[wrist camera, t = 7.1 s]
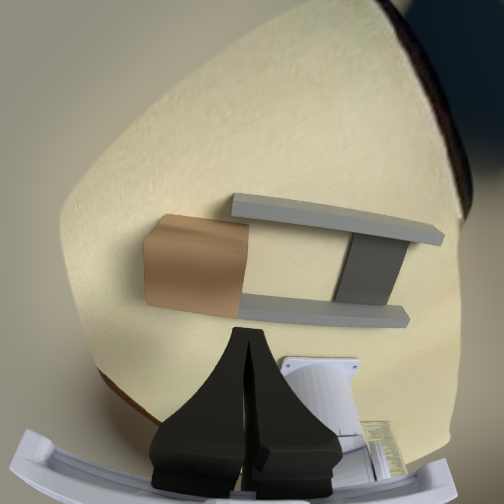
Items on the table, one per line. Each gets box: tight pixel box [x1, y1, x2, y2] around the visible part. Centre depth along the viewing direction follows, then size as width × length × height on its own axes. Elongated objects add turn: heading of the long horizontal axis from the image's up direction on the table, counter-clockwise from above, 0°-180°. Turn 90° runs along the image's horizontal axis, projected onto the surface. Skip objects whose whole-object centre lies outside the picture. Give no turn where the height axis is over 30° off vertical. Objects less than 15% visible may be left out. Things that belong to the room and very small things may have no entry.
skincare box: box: [360, 421, 408, 478], centre depth 28 cm, size 6×4×12 cm
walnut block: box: [143, 214, 249, 319], centre depth 19 cm, size 4×6×5 cm
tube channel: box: [231, 193, 445, 328], centre depth 21 cm, size 9×16×2 cm, turn 83°
